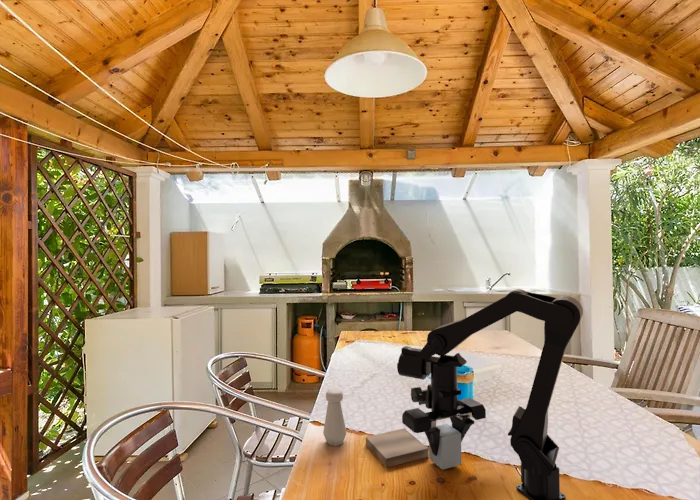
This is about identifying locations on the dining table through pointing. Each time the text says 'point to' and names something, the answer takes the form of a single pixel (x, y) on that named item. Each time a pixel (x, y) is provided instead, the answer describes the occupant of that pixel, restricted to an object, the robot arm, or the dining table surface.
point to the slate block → (447, 448)
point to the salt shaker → (334, 418)
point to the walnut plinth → (396, 447)
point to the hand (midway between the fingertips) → (445, 452)
